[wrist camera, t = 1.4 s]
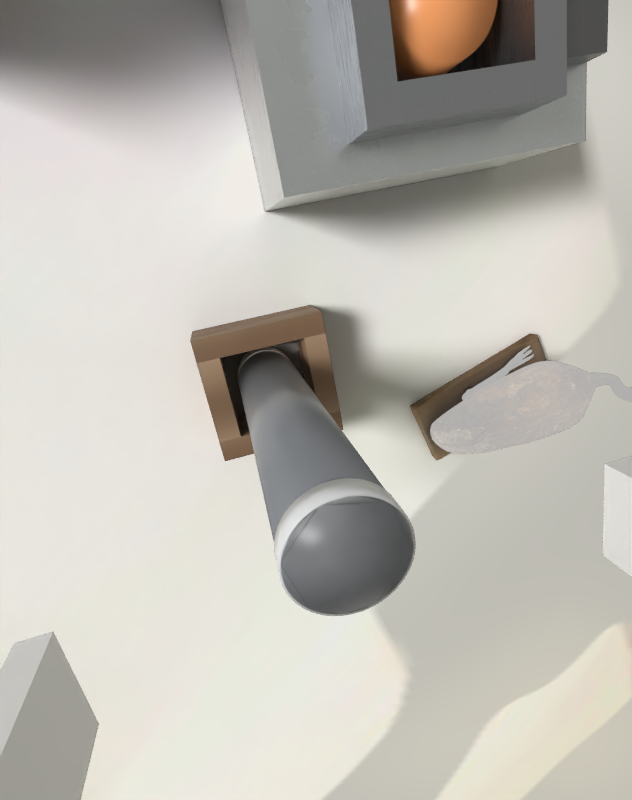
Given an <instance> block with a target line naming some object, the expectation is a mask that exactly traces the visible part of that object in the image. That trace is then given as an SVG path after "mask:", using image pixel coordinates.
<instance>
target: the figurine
mask: <svg viewBox="0 0 632 800" xmlns="http://www.w3.org/2000/svg"><path fill="white" fill-rule="evenodd" d="M601 385H610V386H611V388H612V390H613V392H614V393H615V394H616V395H617V396H618V397H620V398H622V399H624V400H626V401H630V402H632V387H631V388H628V387H625V386H624V385H623V384H622V383H621V381H620V379H619V378H618V377H616V376H615V375H612V374H606V373H588V372H586V371H583V370H581V369H579V368H576V367H573V366H569V365H567V364H563V363H561V362H557V361H546V358H545V356H544V353H543V350H542V347H541V345H540V342H539V339H538V337H537V335H535V334H528V335H527V336H525V337H524V338H522V339H520V340H519V341H517V342H515V343H514V344H512V345H510V346H509V347H507V348H505V349H504V350H502V351H500V352H499V353H497V354H495V355H494V356H492V357H490V358H489V359H487V360H485V361H484V362H482V363H480V364H479V365H477V366H475V367H474V368H472V369H470V370H469V371H467V372H465V373H464V374H462V375H460V376H459V377H457V378H455V379H454V380H452V381H450V382H449V383H447V384H445V385H444V386H442V387H440V388H439V389H437V390H435V391H434V392H432V393H431V394H429V395H427V396H426V397H424V398H422V399H421V400H419V401H417V402H416V403H414V404H412V405H411V406H410V407H411V410H412V412H413V414H414V416H415V418H416V420H417V423H418V425H419V427H420V429H421V431H422V433H423V436H424V438H425V440H426V442H427V445H428V447H429V449H430V451H431V454H432V456H433V457H434V458H435V459H436V460H439V459H441V458H443V457H444V456H446V455H448V454H449V453H457V454H465V453H484V452H489V451H494V450H498V449H502V448H505V447H510V446H515V445H520V444H525V443H529V442H532V441H535V440H539V439H542V438H545V437H548V436H550V435H553V434H556V433H559V432H561V431H564V430H566V429H568V428H570V427H572V426H573V425H575V424H576V423H578V422H579V421H580V420H581V419H582V417H583V416H584V413H585V411H586V409H587V407H588V405H589V402H590V400H591V397H592V394H593V392H594V390H595V387H597V386H601Z"/></svg>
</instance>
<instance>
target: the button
mask: <svg viewBox="0 0 632 800" xmlns="http://www.w3.org/2000/svg"><path fill="white" fill-rule="evenodd" d="M389 7H390V16H391V26H392V35H393V44H394V53H395V63H396V72H397V81H398V82H399V81H405V80H411V79H418V78H424V77H430V76H437V75H443V74H446V73H447V72H448V71H450V70H451V69H452V68H454V67H455V66H456V65H458V64H459V63H460V62H462V61H463V60H464V59H466V58H467V57H468V56H470V55H471V54H472V53H473V52H474V51H476V49H477V48H478V47H479V46H480V45H481V44H482V42H483V41H484V40H485V38H486V36H487V35H488V33H489V31H490V28H491V26H492V24H493V21H494V17H495V13H496V8H497V0H389Z"/></svg>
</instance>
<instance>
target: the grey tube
mask: <svg viewBox="0 0 632 800" xmlns="http://www.w3.org/2000/svg"><path fill="white" fill-rule="evenodd" d="M237 376H238V382H239V387H240V391H241V396H242V400H243V405H244V409H245V414H246V418H247V423H248V427H249V432H250V436H251V441H252V445H253V450H254V454H255V459H256V463H257V468H258V472H259V477H260V481H261V486H262V490H263V495H264V499H265V504H266V508H267V513H268V517H269V522H270V526H271V531H272V535H273V540H274V552H275V557H276V562H277V567H278V571H279V576H280V580H281V583H282V586H283V588H284V589H285V591H286V593H287V594H288V595H289V597H290V598H291V599H292V600H293V601H294V602H295V603H296V604H298V605H299V606H301V607H302V608H304V609H306V610H308V611H310V612H313V613H316V614H321V615H327V616H343V615H349V614H354V613H357V612H361V611H363V610H366V609H368V608H370V607H372V606H374V605H376V604H378V603H379V602H381V601H383V600H384V599H385V598H387V597H388V596H389V595H390V594H391V593H392V592H393V591H394V590H395V589H397V587H398V586H399V585H400V584H401V582H402V581H403V580H404V578H405V576H406V575H407V573H408V571H409V569H410V567H411V565H412V562H413V559H414V554H415V545H416V544H415V534H414V529H413V527H412V524H411V522H410V520H409V519H408V517H407V515H406V514H405V513H404V511H403V510H402V509H401V507H400V506H399V505H398V503H397V502H396V501H395V499H394V498H393V497H392V496H391V494H389V493H388V492H387V491H386V490H385V489H384V488H383V486H382V485H381V483H380V482H379V481H378V479H377V478H376V477H375V475H374V474H373V473H372V471H371V470H370V468H369V467H368V466H367V464H366V463H365V462H364V460H363V459H362V458H361V456H360V455H359V454H358V452H357V451H356V449H355V448H354V447H353V445H352V444H351V443H350V441H349V440H348V439H347V437H346V436H345V434H344V433H343V432H342V430H341V429H340V428H339V426H338V425H337V424H336V422H335V421H334V420H333V418H332V417H331V415H330V414H329V413H328V411H327V410H326V409H325V407H324V406H323V405H322V403H321V402H320V400H319V399H318V398H317V396H316V395H315V394H314V392H313V391H312V390H311V388H310V387H309V386H308V384H307V383H306V381H305V380H304V379H303V377H302V376H301V375H300V373H299V372H298V371H297V369H296V368H295V366H294V365H293V364H292V362H291V361H290V360H289V358H288V357H287V356H286V355H285V354H284V353H283V352H281V351H280V350H278V349H275V348H271V347H264V348H260V349H256V350H252V351H250V352H249V353H248V354H246V355H245V357H244V358H243V359H242V360H241V362H240V364H239V367H238V373H237Z"/></svg>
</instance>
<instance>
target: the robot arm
mask: <svg viewBox="0 0 632 800" xmlns="http://www.w3.org/2000/svg"><path fill="white" fill-rule="evenodd" d="M604 477H605V479H604V521H603V522H604V523H603V555H604V556H605V557H606V558H608V559H609V560H611V561H612V562H613V563H614V564H616V565H617V566H618V567H620V568H621V569H622V570H623V571H625V572H626V573H627V574H629V575H630V576H631V577H632V456H629V457H626V458H623V459H619V460H616V461H613V462H609V463H606V464H605V473H604ZM98 725H99V723H98V721H97V719H96V717H95V715H94V713H93V711H92V709H91V707H90V705H89V703H88V701H87V699H86V697H85V695H84V693H83V691H82V689H81V687H80V685H79V683H78V681H77V679H76V677H75V675H74V673H73V671H72V669H71V667H70V665H69V663H68V661H67V659H66V657H65V654H64V652H63V650H62V648H61V646H60V644H59V642H58V640H57V638H56V636H55V634H54V632H50V633H47V634H43V635H40V636H37V637H34V638H30V639H27V640H24V641H20V642H17V643H14V645H13V647H12V649H11V651H10V653H9V655H8V657H7V659H6V661H5V663H4V665H3V667H2V668H1V670H0V800H81V796H82V791H83V787H84V783H85V779H86V775H87V771H88V767H89V762H90V758H91V754H92V750H93V746H94V742H95V737H96V733H97V729H98Z"/></svg>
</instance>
